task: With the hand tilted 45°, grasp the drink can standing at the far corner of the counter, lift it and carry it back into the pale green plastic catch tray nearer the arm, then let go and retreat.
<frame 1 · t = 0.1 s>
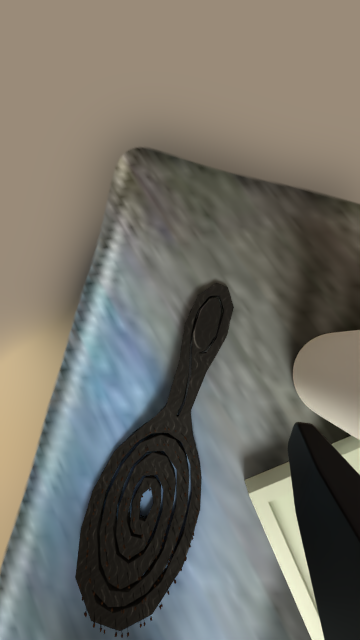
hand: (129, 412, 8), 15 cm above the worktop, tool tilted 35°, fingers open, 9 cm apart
can: (332, 374, 22), on the worktop
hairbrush: (170, 431, 23), on the worktop
tray: (355, 528, 21), on the worktop
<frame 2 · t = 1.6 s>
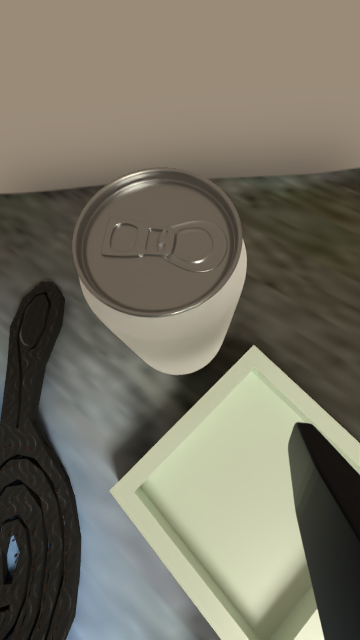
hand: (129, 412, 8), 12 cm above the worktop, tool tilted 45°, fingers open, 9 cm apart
can: (178, 331, 21), on the worktop
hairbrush: (32, 455, 19), on the worktop
tray: (255, 487, 17), on the worktop
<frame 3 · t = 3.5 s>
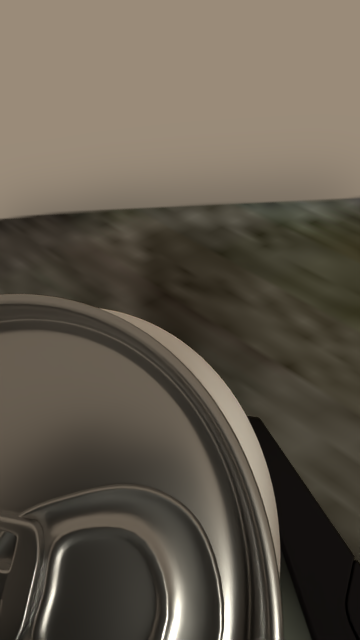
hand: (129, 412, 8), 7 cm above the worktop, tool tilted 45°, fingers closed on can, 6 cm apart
can: (154, 439, 14), on the worktop, touching gripper
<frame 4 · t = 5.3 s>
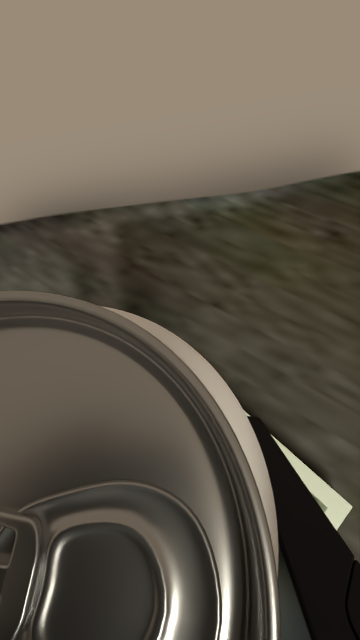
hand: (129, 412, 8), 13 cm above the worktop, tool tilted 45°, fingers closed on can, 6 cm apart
can: (154, 438, 14), point 6 cm above the worktop, touching gripper
tray: (206, 500, 19), on the worktop
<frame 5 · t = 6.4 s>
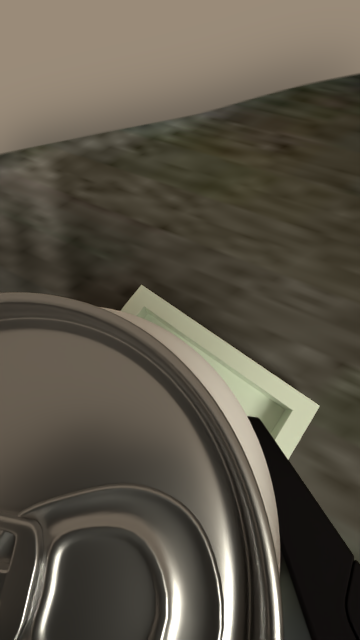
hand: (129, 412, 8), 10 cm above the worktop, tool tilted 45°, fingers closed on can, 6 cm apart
can: (154, 438, 14), point 3 cm above the worktop, touching gripper
tray: (164, 428, 17), on the worktop
when the fingers open (9 cm above the worktop, at t = 7.0 s): can drops 2 cm, resting on tray.
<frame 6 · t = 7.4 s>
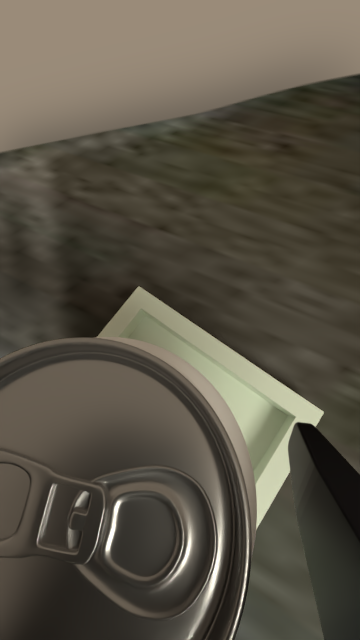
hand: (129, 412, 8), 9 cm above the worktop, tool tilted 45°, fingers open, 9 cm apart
can: (158, 438, 16), resting on tray
tray: (161, 435, 16), on the worktop
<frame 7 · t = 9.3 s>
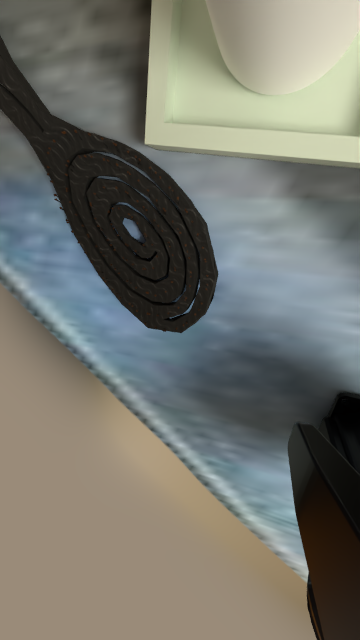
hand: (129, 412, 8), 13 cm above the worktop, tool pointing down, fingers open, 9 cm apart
can: (287, 14, 13), resting on tray
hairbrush: (86, 164, 19), on the worktop
tray: (287, 13, 13), on the worktop
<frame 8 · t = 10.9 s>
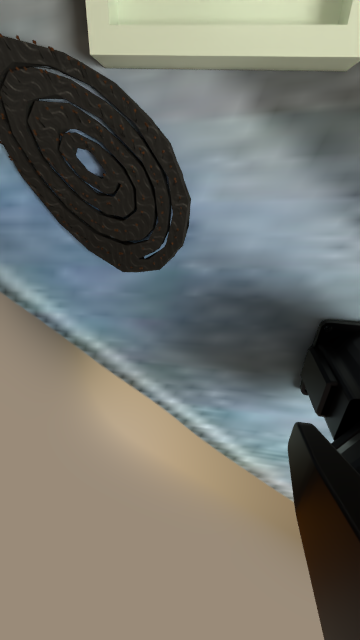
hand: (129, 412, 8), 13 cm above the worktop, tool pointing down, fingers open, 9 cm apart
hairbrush: (22, 88, 16), on the worktop
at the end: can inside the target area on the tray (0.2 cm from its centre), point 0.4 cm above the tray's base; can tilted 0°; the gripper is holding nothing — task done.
